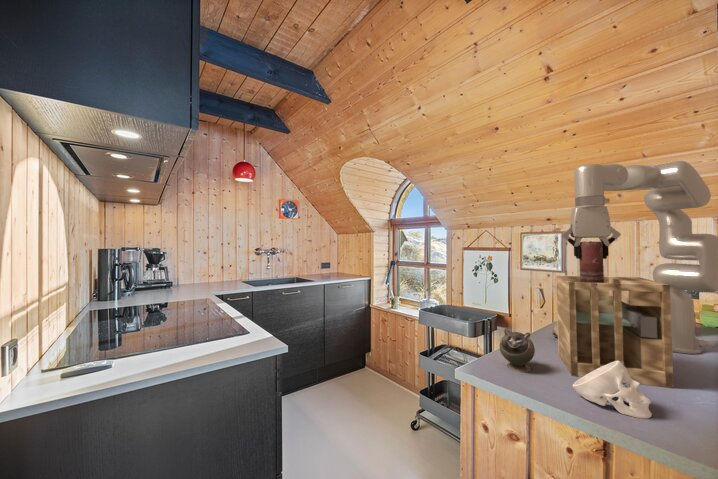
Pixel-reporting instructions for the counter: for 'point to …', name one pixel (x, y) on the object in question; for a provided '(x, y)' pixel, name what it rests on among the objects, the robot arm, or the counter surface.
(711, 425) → the counter surface
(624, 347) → the zigzag grain wooden box
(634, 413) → the skull bowl
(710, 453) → the counter surface
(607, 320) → the green chalkboard
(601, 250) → the can
